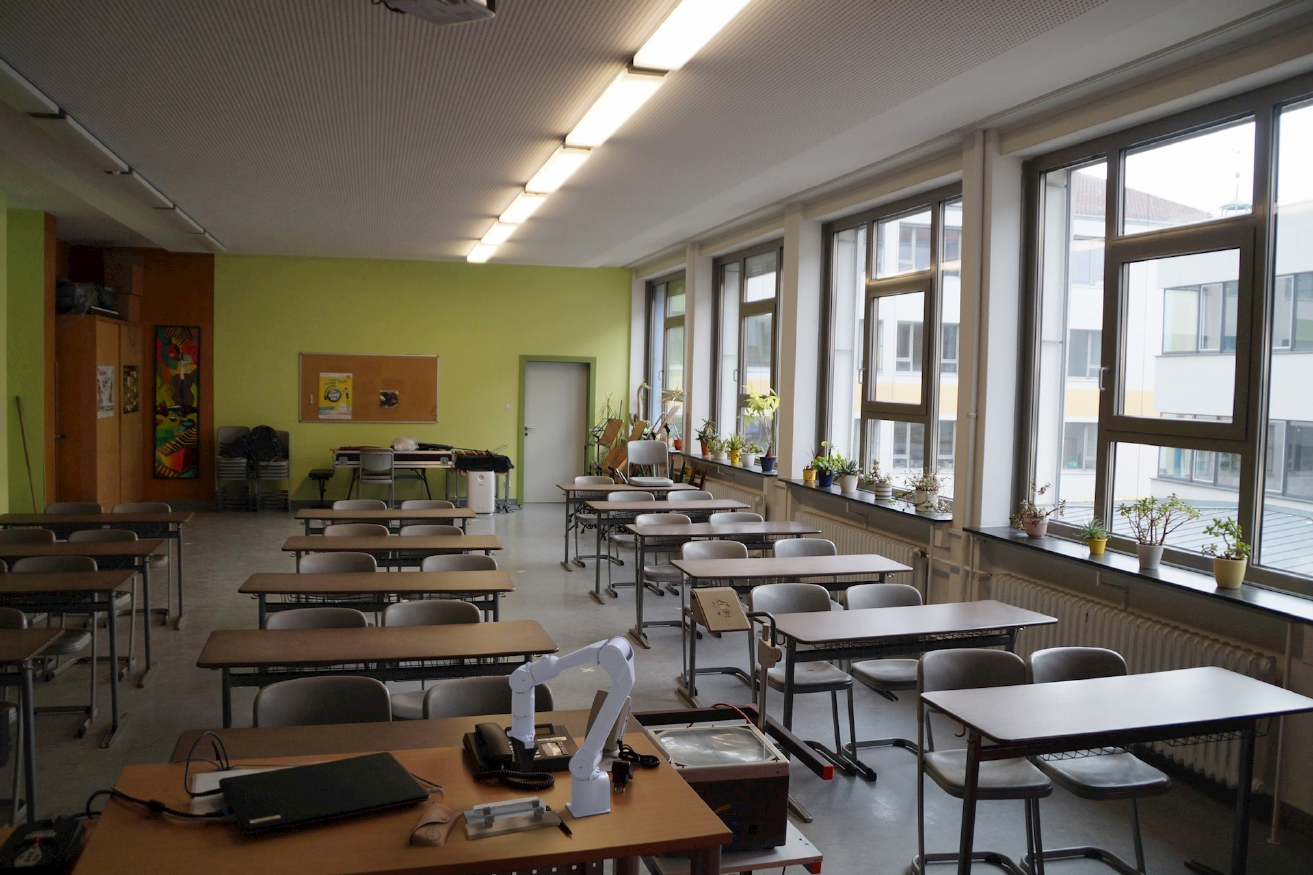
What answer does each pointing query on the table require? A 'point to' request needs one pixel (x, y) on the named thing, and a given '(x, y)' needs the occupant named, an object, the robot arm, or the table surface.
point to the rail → (505, 806)
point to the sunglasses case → (434, 826)
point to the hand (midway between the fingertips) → (522, 766)
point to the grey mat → (471, 819)
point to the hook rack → (512, 822)
